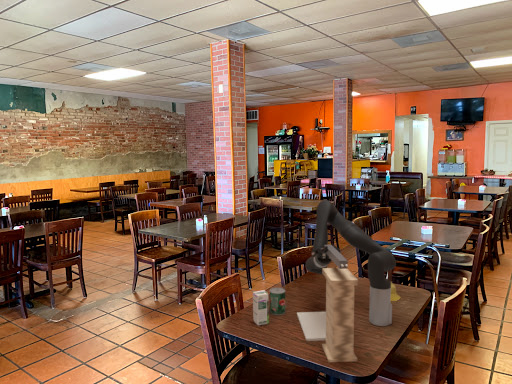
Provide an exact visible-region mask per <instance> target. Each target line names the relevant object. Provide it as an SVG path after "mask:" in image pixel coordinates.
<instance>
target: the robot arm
mask: <svg viewBox="0 0 512 384" xmlns="http://www.w3.org/2000/svg"><path fill="white" fill-rule="evenodd" d="M328 224H329V225H331V226H332V227H333V228H334V229H336V231H337V232H338V234H339V235H340V236H341V237H342V238H343V239H344V240H345V242H347V243H348V244H349V245H350V246H352V247H353V248H356V249H358V250H360V251H363V252H365V253H367V254H369V256H368V259H367V275H368V280H369V309H368V310H369V313H368V314H369V315H368V319H369V320H368V321H369V323H371V324H372V325H373V326H379V327H387V326H390V325H393V324H392V323H393V321H392V320H393V304H392V302H391V281H390V280H389V279H387V277H385V273H386V272H388V271H390V270H392V271H393V270H394V269H395V268H396V266H397V261H396V258H395V256H394V255H392V254H393V253H392V254H391V253H390V252H391V251H389V250H388V249H387V248H385V247H383V246H382V245H380V244H379V243H378V242H377V241H375V240H374V239H373V238H372V237H371V236H370V235H368V234H367V233H365V231H364V230H363V229H361V228H360V227H359V226H358V225H357V224H355V223H354V222H353V221H350V220H348V219H346V218H345V217H344V215H343V214H341V212H339V210H338V209H337V207H336V206H335V205H334V203H332V201H330V200H328V199H323V200H321V201H320V202H319V203H318V204H317V207H316V223H315V235H314V238H313V240H314V241H313V244H312V251H311V256H310V257H308V259H307V260H306V262H305V269H306V271H308V272H309V273H315V274H316V275H323V274H322V268H328V265H330V264H331V263H332V262H333V261H332V260H331V258H330V257H329V256H328V255H327V254H326V252H327V251H328V246H325V247H324V245H329V235H328V234H329V232H328ZM332 246H333V247H334V248H335V249H336V250H337V251H338V252H339V253H340V254H341V255H342V252H341V251H342V250H341V249H340V248H339V247H337V246H336V245H332Z"/></svg>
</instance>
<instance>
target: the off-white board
mask: <svg viewBox="0 0 512 384" xmlns="http://www.w3.org/2000/svg"><path fill="white" fill-rule="evenodd" d="M296 316H297V319H298V322H299V324H300V327H301V329H302V332H303V335H304V338H305V341H306V342H317V341H326V311H307V312H306V311H305V312H304V311H301V312H298V311H297V312H296Z"/></svg>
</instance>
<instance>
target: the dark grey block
mask: <svg viewBox="0 0 512 384" xmlns="http://www.w3.org/2000/svg"><path fill="white" fill-rule="evenodd" d="M325 246H328V251H327V252H326V254H327V255H328V256H329V257H330V258H331V260H332V261H331V262H333V263H334V264H335V265H336V267H337V268H339V269H348V267H349V264H348V262H349V261H348V259H347V258H346V257H344V256H343V254H342V253H341V254H340V253H339V252H338V251H337V250H336V249H335V248H334V247H333V246H334V245H333V244H327V245H324V247H325ZM348 270H349V269H348Z"/></svg>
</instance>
